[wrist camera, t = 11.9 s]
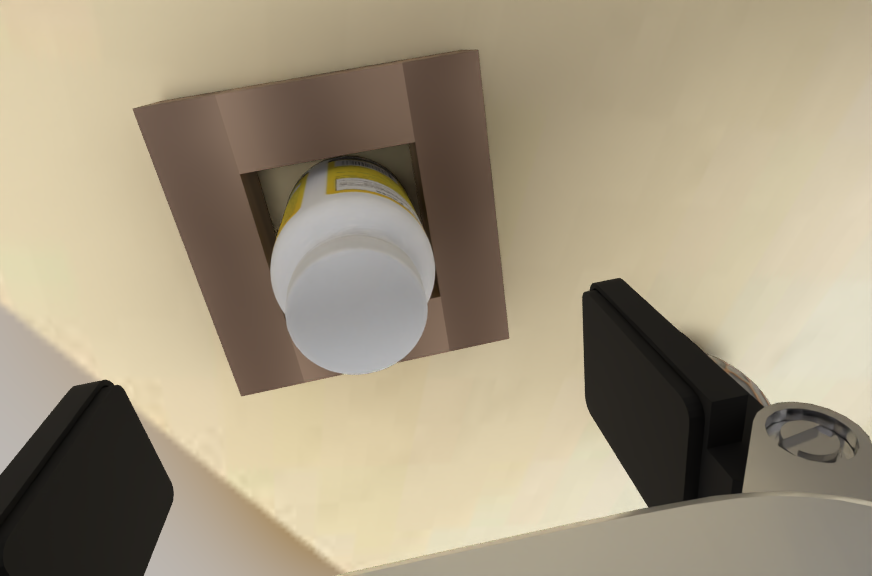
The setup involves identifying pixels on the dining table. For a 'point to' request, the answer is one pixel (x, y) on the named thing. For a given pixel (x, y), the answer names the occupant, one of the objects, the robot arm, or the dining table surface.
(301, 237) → the supplement bottle
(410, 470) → the dining table surface
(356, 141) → the socket board
